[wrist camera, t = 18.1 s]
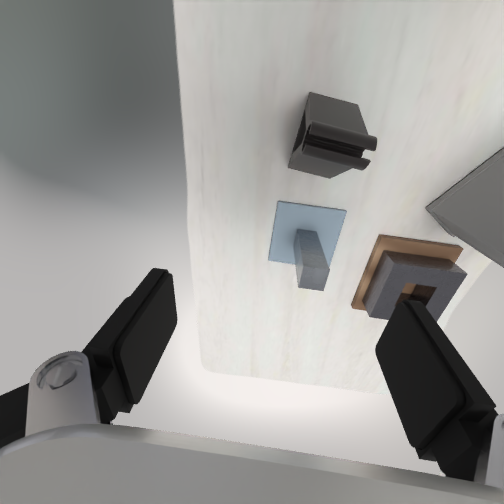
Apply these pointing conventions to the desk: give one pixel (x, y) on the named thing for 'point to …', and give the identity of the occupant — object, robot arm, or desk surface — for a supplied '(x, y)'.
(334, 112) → the phone stand
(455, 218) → the cassette tape recorder
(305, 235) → the key peg
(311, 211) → the mat
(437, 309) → the block
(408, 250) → the stand
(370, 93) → the desk surface
